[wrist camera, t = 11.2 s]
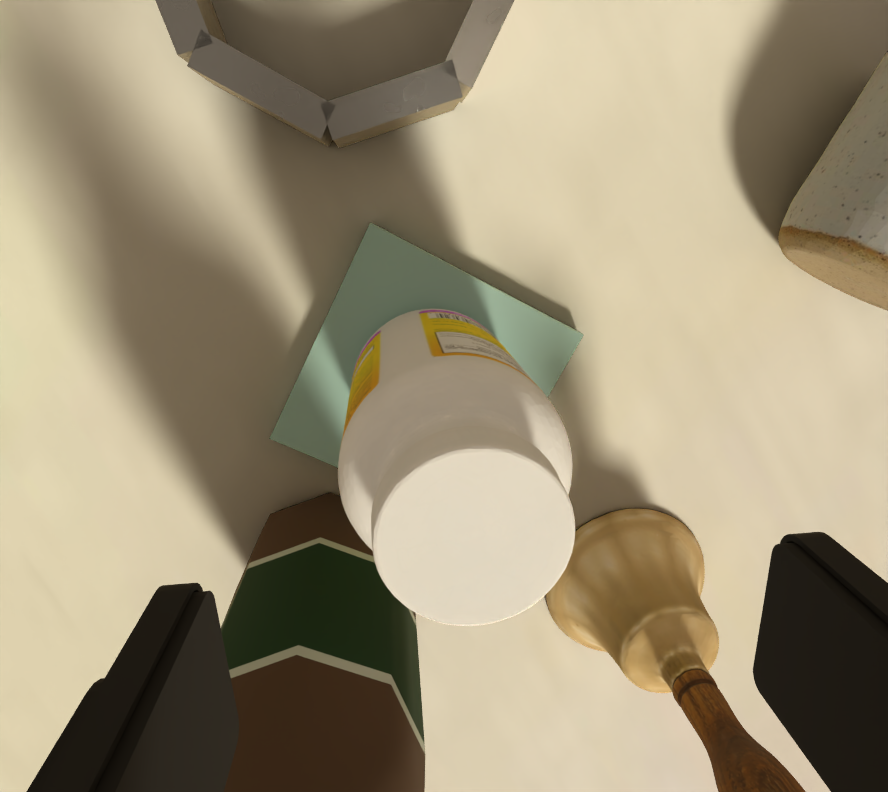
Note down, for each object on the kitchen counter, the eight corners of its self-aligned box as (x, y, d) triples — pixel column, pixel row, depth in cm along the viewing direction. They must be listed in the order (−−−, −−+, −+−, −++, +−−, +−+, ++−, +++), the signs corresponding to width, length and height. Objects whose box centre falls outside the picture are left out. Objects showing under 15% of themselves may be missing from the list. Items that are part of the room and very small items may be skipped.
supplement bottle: (388, 476, 27) (390, 701, 15) (327, 340, 25) (270, 471, 13) (529, 422, 27) (649, 604, 15) (479, 280, 25) (571, 355, 12)
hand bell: (733, 573, 31) (1056, 915, 16) (615, 673, 33) (812, 1077, 18) (633, 474, 29) (900, 766, 14) (511, 587, 30) (633, 964, 15)
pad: (370, 222, 25) (369, 222, 24) (576, 330, 27) (583, 334, 26) (273, 430, 27) (269, 438, 26) (470, 514, 29) (473, 525, 28)
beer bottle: (212, 560, 28) (-490, 1985, 6) (330, 454, 27) (49, 1683, 5) (331, 655, 31) (167, 1958, 8) (444, 559, 30) (638, 1748, 7)
